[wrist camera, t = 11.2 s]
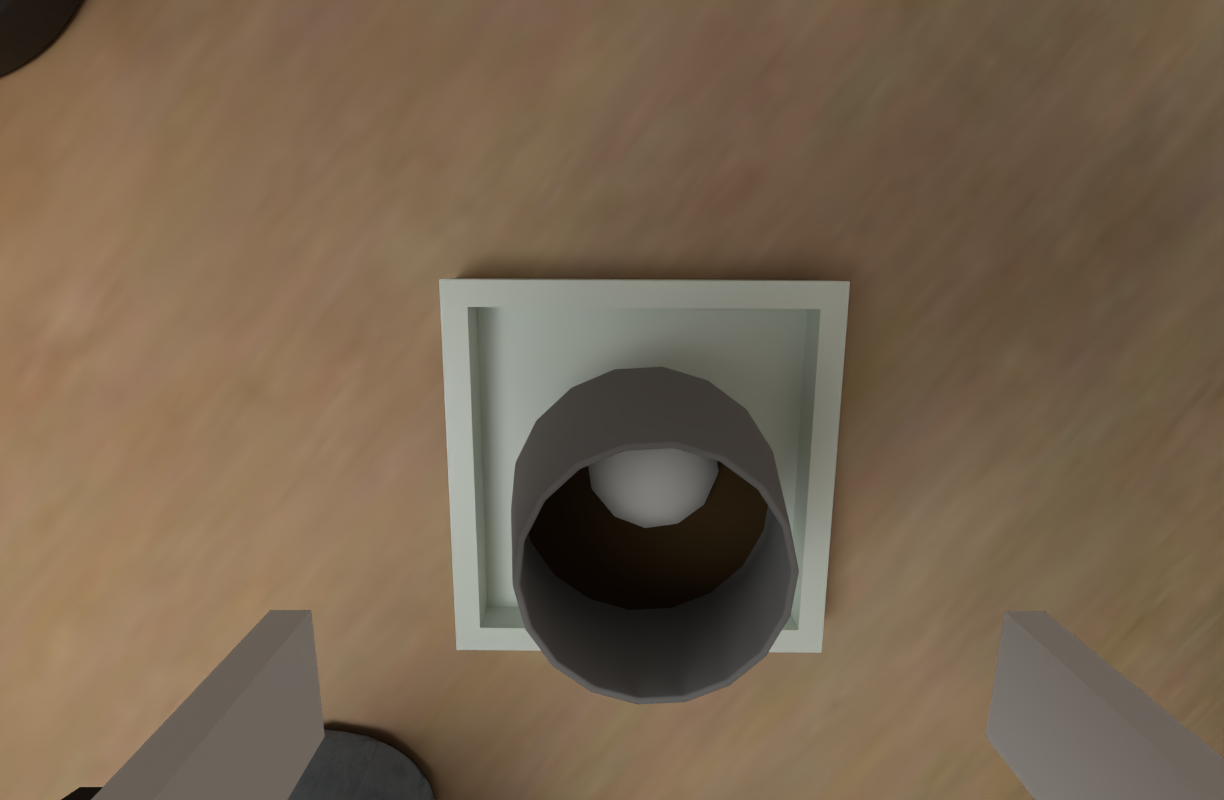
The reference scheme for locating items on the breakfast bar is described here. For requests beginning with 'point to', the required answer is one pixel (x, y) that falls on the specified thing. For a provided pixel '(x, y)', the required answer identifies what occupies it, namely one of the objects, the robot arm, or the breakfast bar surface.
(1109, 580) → the breakfast bar surface
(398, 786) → the moka pot
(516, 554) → the cup
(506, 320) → the tray
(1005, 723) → the robot arm
